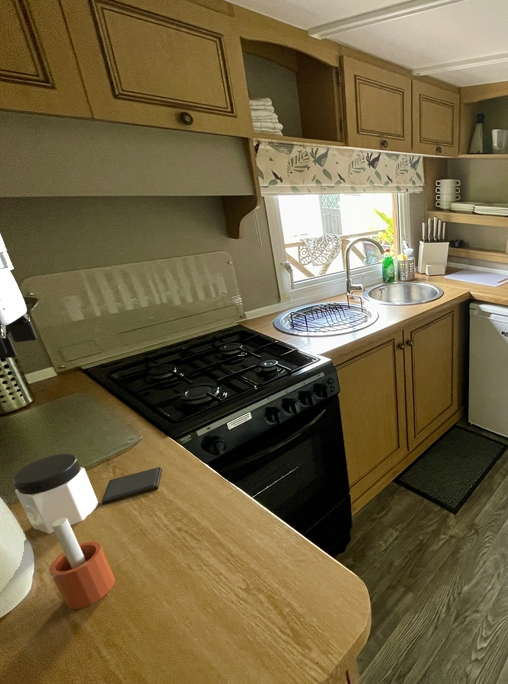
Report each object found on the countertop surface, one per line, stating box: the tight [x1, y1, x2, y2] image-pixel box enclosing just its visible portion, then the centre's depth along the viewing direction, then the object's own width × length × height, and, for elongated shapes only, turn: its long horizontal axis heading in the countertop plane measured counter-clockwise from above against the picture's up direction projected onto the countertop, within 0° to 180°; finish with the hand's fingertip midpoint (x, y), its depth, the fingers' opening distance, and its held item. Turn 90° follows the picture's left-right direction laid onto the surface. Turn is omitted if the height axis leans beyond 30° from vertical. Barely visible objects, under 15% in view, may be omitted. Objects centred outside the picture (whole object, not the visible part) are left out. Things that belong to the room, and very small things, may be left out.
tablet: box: [101, 466, 163, 506], centre depth 81 cm, size 9×7×1 cm
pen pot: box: [48, 541, 116, 610], centre depth 58 cm, size 6×6×8 cm
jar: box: [12, 453, 100, 535], centre depth 71 cm, size 9×8×12 cm
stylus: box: [52, 518, 86, 569], centre depth 57 cm, size 2×2×15 cm
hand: (15, 348), depth 74 cm, fingers open, 9 cm apart
